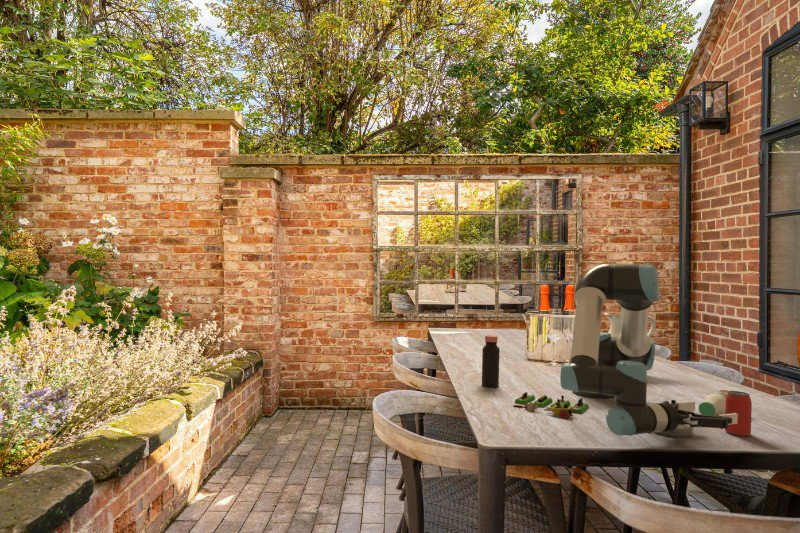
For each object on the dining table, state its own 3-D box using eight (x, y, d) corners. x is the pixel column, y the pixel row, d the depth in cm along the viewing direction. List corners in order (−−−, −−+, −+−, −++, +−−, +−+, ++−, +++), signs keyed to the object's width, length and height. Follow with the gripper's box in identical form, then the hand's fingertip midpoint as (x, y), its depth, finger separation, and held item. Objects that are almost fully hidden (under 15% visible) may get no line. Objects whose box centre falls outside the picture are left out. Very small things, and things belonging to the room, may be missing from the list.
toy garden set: (588, 409, 184) (589, 395, 184) (574, 421, 168) (574, 407, 168) (524, 398, 197) (524, 386, 197) (505, 409, 181) (505, 396, 181)
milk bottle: (730, 416, 183) (706, 426, 171) (711, 398, 188) (687, 407, 175) (747, 402, 179) (724, 412, 167) (728, 384, 184) (704, 392, 171)
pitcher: (609, 376, 240) (610, 314, 240) (596, 369, 257) (598, 311, 257) (663, 378, 239) (664, 316, 239) (646, 370, 256) (648, 312, 256)
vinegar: (498, 384, 218) (499, 335, 218) (499, 388, 211) (500, 337, 211) (481, 383, 218) (482, 334, 218) (482, 387, 212) (483, 336, 212)
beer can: (726, 428, 163) (727, 389, 163) (752, 433, 159) (753, 393, 159) (722, 433, 158) (723, 392, 158) (749, 438, 154) (750, 396, 154)
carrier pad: (649, 434, 155) (649, 429, 155) (645, 423, 166) (645, 418, 166) (696, 439, 151) (696, 434, 151) (688, 427, 162) (688, 423, 162)
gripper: (624, 418, 159) (677, 413, 166) (697, 445, 136) (755, 438, 143) (624, 393, 159) (678, 389, 166) (698, 416, 136) (756, 410, 143)
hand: (714, 412), depth 155 cm, fingers open, 13 cm apart
